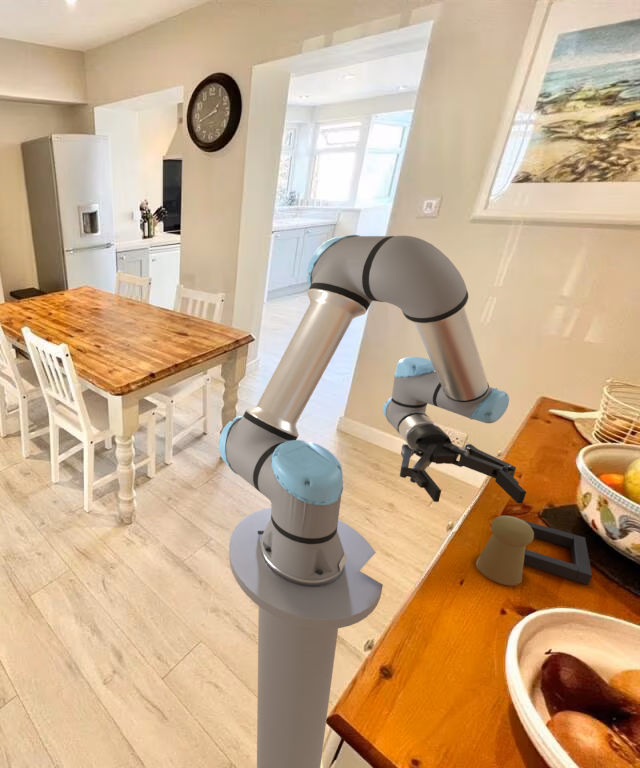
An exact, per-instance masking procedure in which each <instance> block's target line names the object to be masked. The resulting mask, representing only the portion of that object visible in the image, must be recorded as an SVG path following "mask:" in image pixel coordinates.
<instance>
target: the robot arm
mask: <svg viewBox="0 0 640 768" xmlns="http://www.w3.org/2000/svg"><path fill="white" fill-rule="evenodd" d="M306 272H307V273H308V274H307V275H306V282H307V284H308V286H309V288H308V290H307V293H306V294H307V296H308V299H309V304H308V306H307V309H306V310H305V312H304V314H303V316H302V318H301V320H300V322H299V324H298V326H297V328H296V329H295V332H294V333H293V335H292V337H291V339H290V341H289V342H288V345H287V347H286V349H285V351H284V352H283V355H282V356H281V358H280V360H279V362H278V364H277V366H276V368H275V369H274V372H273V373H272V375H271V377H270V379H269V381H268V383H267V385H266V387H265V389H264V391H263V393H262V394H261V396H260V398H259V401H258V402H257V404H256V405H255V406H252V407H250V408H246V410H245V411H244V413H243V415H242V416H241V415H238V416H236V417H234V418H233V419H232V421H231V420H229V421H228V423H226V425H224V427H223V429H222V430H221V433H220V435H219V440H218V451H219V454H220V457H221V459H222V461H223V462H224V463H225V464H226V466H228V467H229V469H230V470H231V471H232V472H233V473H234V474H236V475H238V476H239V477H240V478H242V479H243V480H244V481H246V482H247V483H248V484H249V485H250V486H251V487H253V488H254V489H255V490H256V491H258V492H259V493H260V494H262V495H263V496H264V497H265V498H266V499H268V500H269V502H270V503H271V506H270V508H271V519H270V521H269V523H268V525H267V527H266V529H265V531H258V534H263V535H262V539H261V553H262V557H263V559H264V561H265V563H266V564H267V566H268V567H269V568H270V569H271V570H272V571H273V572H274V573H275V574H277V575H278V576H280V577H281V578H283V579H285V580H287V581H289V582H291V583H294V584H298V585H302V586H308V587H318V586H324V585H328V584H330V583H332V582H334V581H335V580H337V579H338V578H339V577H340V576H341V574H342V572H343V569H344V565H345V563H346V561H347V558H346V554H345V553H344V550H343V547H342V543H341V541H340V538H339V535H338V532H337V526H338V520H339V516H340V510H341V509H340V508H341V501H342V494H343V491H344V480H343V468H342V465H341V463H340V461H339V459H338V457H336V455H335V454H334V453H333V452H331V451H330V450H329V449H327V448H326V447H324V446H322V445H320V444H318V443H315V442H312V441H310V442H306V441H305V440H303V439H302V440H301V439H298V437H299V436H300V434H299V431H298V428H297V423H298V421H299V419H300V417H301V415H302V414H303V412H304V410H305V408H306V406H307V405H308V402H309V400H310V399H311V397H312V396H313V393H314V391H315V390H316V388H317V386H318V385H319V383H320V380H321V379H322V377H323V375H324V373H325V371H326V369H327V367H328V365H329V364H330V362H331V361H332V358H333V357H334V355H335V353H336V351H337V349H338V347H339V345H340V344H341V342H342V340H343V338H344V336H345V334H346V333H347V331H348V329H349V327H350V325H351V323H352V322H353V320H354V319H355V318H357V317H361V316H364V315H365V314H366V313H367V311H368V309H369V307H370V306H371V304H372V302H378V303H379V302H380V303H388V304H390V305H392V306H393V305H394V306H395V307H397V308H399V309H400V310H401V312H402V314H403V316H404V318H405V319H406V320H408V321H409V322H411V323H414V325H415V328H416V330H417V332H418V335H419V337H420V339H421V341H422V344H423V346H424V348H425V350H426V353H427V355H428V357H429V358H425V357H421V356H408V357H404V358H402V359H400V360H399V361H398V362H397V364H396V368H395V372H394V374H393V375H394V376H393V377H394V378H393V385H392V393H391V397H389V398H388V399H387V400H386V401H385V402H384V403H383V407H382V413H383V415H384V417H385V418H386V420H387V422H388V423H389V424H390V425H391V427H393V428H394V430H395V431H396V432H397V433H398V434H399V435H400V436H401V438H402V439H403V441H404V442H405V443H403V444H401V445H402V446H401V450H400V456H401V457H402V461H401V467H400V471H399V478H403V479H405V478H407V477H408V478H410V479H409V481H410V482H411V483H413V484H416V485H417V486H418V487H419V488H420V489H423V490H424V491H426V493H427V494H428V496H429V497H430V498H431V500H432V501H433V502H434V503H439V502H440V498H441V494H442V489H441V488H440V487H439V486H438V485H437V483H436V482H435V481H434V480H433V479H432V477H431V475H429V473H428V472H427V471H426V469H427V468H428V467H430V466H431V464H432V463H434V464H436V465H442V464H447V465H454V466H456V467H459V468H463V467H465V468H467V469H470V470H473V471H475V472H478V473H480V474H483V475H485V476H488V477H490V478H493V479H495V480H494V482H495V483H496V484H497V485H498V486H499V487H500V488H501V489H502V490H503V491H504V492H505V493H506V494H507V495H508V496H509V497H510V498H511V499H512V500H513V501H514V502H515V503H517V504H523V503H524V500H525V497H526V494H527V491H526V490H525V489H524V488H523V487H521V485H519V481H518V479H516V478H515V474H516V471H517V467H516V466H514V465H512V464H511V463H508V462H507V461H504V460H502V459H499V458H498V457H496V456H493V455H491V454H489V453H487V452H484V451H483V450H480V449H478V447H476V446H475V445H473V444H471V443H465V446H461V447H460V446H458V445H456V444H454V443H453V442H452V440H451V438H450V436H449V435H448V434H447V433H446V432H445V430H443V429H442V428H440V426H439V425H438V424H437V423H435V422H434V420H433V419H432V418H431V417H430V416H429V415H428V414H426V410H427V406H428V405H432V406H434V407H437V408H440V409H442V410H445V411H448V412H451V413H454V414H457V415H459V416H462V417H465V418H467V419H469V420H474V421H478V422H481V423H483V424H493V423H496V422H498V421H499V420H500V419H501V418H502V417H503V416H504V414H505V413H506V411H507V409H508V407H509V405H510V404H509V403H510V396H509V394H508V393H507V392H506V391H504V390H501V389H498V388H497V387H491V386H490V385H489V382H488V379H487V376H486V372H485V369H484V366H483V363H482V360H481V356H480V354H479V353H480V352H479V349H478V346H477V343H476V340H475V337H474V334H473V331H472V327H471V325H470V322H469V318H468V314H467V312H466V309H465V307H466V305H467V304H468V302H469V299H470V297H469V292H468V289H467V285H466V282H465V279H464V278H463V276H462V274H461V273H460V271H459V269H458V268H457V267H456V266H455V265H454V263H453V261H452V260H450V258H449V257H448V256H447V255H446V254H444V252H442V251H441V250H440V249H439V248H437V247H436V246H435V245H433V244H432V243H430V242H428V241H426V240H424V239H422V238H420V237H417V236H413V235H412V236H411V235H359V234H347V235H345V236H336V237H333V238H330V239H328V240H326V241H324V242H323V243H322V244H321V245H320V246H318V248H317V249H316V250H315V251H314V253H313V254H312V256H311V258H310V259H309V262H308V265H307V268H306ZM414 454H415V455H416V457H419V459H418V460H417V461H416V463H415V464H414V465H413V466H412V467H409V466H410V460H411V458H412V457H413V456H414ZM458 457H459V460H457V459H458Z"/></svg>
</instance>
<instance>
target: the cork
mask: <svg viewBox="0 0 640 768" xmlns="http://www.w3.org/2000/svg"><path fill="white" fill-rule="evenodd" d="M523 520H524V519H521V518H519V517H516V516H511V515H498V516H497V517H495V518H494V519H493V520H492V521H491V523H490V531H491V533H492V534H491V536H490V537H489V539H488V541H487V543H486V544H485V546H484V548H483V549H482V551H481V553H480V554H479V556H478V557H477V560H476V562H475V565H476V568H477V570H478V571H479V572H480V573H481V574H482V575H483V576H484V577H486V578H487V579H489V580H490V581H493V582H495V583H498V584H501V585H505V586H518V585H520V584H521V583H522V582H523V581H522V580H523V574H524V573H523V572H524V565H525V564H524V556H525V549H526V547H527V546H529V545H530V544H531V543H533V541H534V539H535V538H534V532H533V530H532V528H531V526H530V525H529V524H528V523H526V522H525V521H526V520H525V521H523Z"/></svg>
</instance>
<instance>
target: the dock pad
mask: <svg viewBox="0 0 640 768" xmlns="http://www.w3.org/2000/svg"><path fill="white" fill-rule="evenodd" d="M522 520H523V521H525V522H526V523H528V524H529V525H530V526H531V528H532V530H533V532H534V538H533V539H538V540H542V541H545V542H548V543H552V544H555V545H558V546H561V547H565V548H568V549H570V556H571V562H572V563H571V562H568V561H565V560H562V559H559V558H558V559H557V558H555V557H552V556H549V555H545V554H542V553H539V552H536V551H533V550H530V549H527V548H525V556H524V564H523V565H526V566H529V567H532V568H535V569H537V570H541V571H544V572H547V573H550V574H553V575H556V576H559V577H562V578H565V579H568V580H571V581H574V582H577V583H581V584H584V585H585V586H588V585H589V584H590V582H591V580H592V578H593V573H592V567H591V562H590V556H589V552H588V546H587V540H586V537H585V536H581V535H578V534H574V533H570V532H567V531H563V530H560V529H556V528H552V527H549V526H546V525H542V524H538V523H535V522H532V521H527V520H524V519H522Z"/></svg>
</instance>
